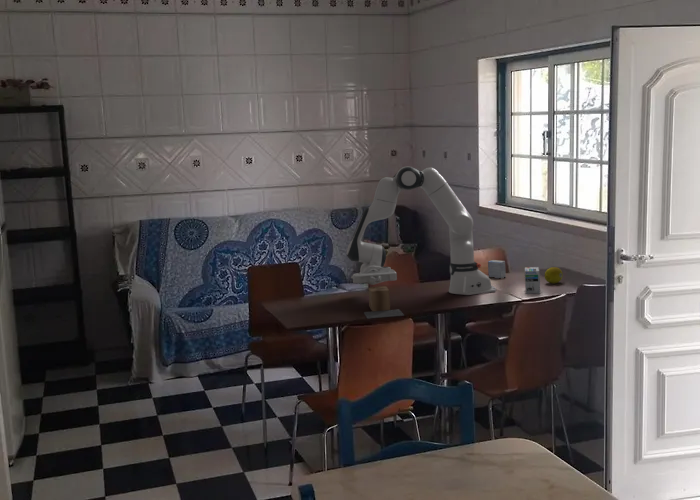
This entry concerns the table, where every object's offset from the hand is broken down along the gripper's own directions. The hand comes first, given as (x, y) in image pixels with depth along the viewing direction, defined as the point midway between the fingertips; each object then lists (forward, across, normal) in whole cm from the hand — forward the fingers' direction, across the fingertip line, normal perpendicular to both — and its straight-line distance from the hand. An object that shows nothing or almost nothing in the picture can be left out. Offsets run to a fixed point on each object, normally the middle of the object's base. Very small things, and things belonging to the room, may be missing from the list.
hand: (376, 280), depth 351 cm
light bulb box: (-5, +74, +12) cm, 75 cm away
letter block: (0, 0, +8) cm, 8 cm away
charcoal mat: (+15, 0, +12) cm, 19 cm away
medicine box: (-44, +69, +12) cm, 83 cm away
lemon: (-19, +90, +12) cm, 93 cm away
